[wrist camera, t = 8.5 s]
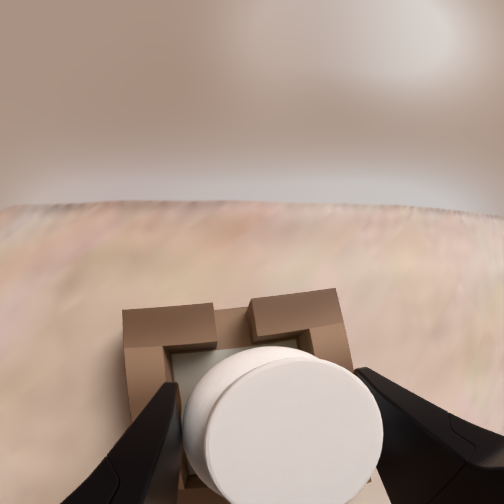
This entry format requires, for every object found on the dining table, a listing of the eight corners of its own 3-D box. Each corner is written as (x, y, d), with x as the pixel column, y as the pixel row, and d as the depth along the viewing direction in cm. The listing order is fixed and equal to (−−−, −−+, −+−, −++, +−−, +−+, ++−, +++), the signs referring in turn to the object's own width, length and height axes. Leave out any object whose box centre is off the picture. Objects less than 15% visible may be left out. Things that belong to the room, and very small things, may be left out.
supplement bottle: (265, 346, 16) (334, 280, 7) (317, 427, 14) (439, 449, 5) (174, 395, 14) (119, 396, 5) (229, 480, 12) (257, 580, 3)
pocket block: (349, 471, 15) (375, 483, 12) (159, 503, 13) (149, 524, 10) (318, 301, 20) (338, 283, 17) (133, 320, 18) (117, 305, 15)
